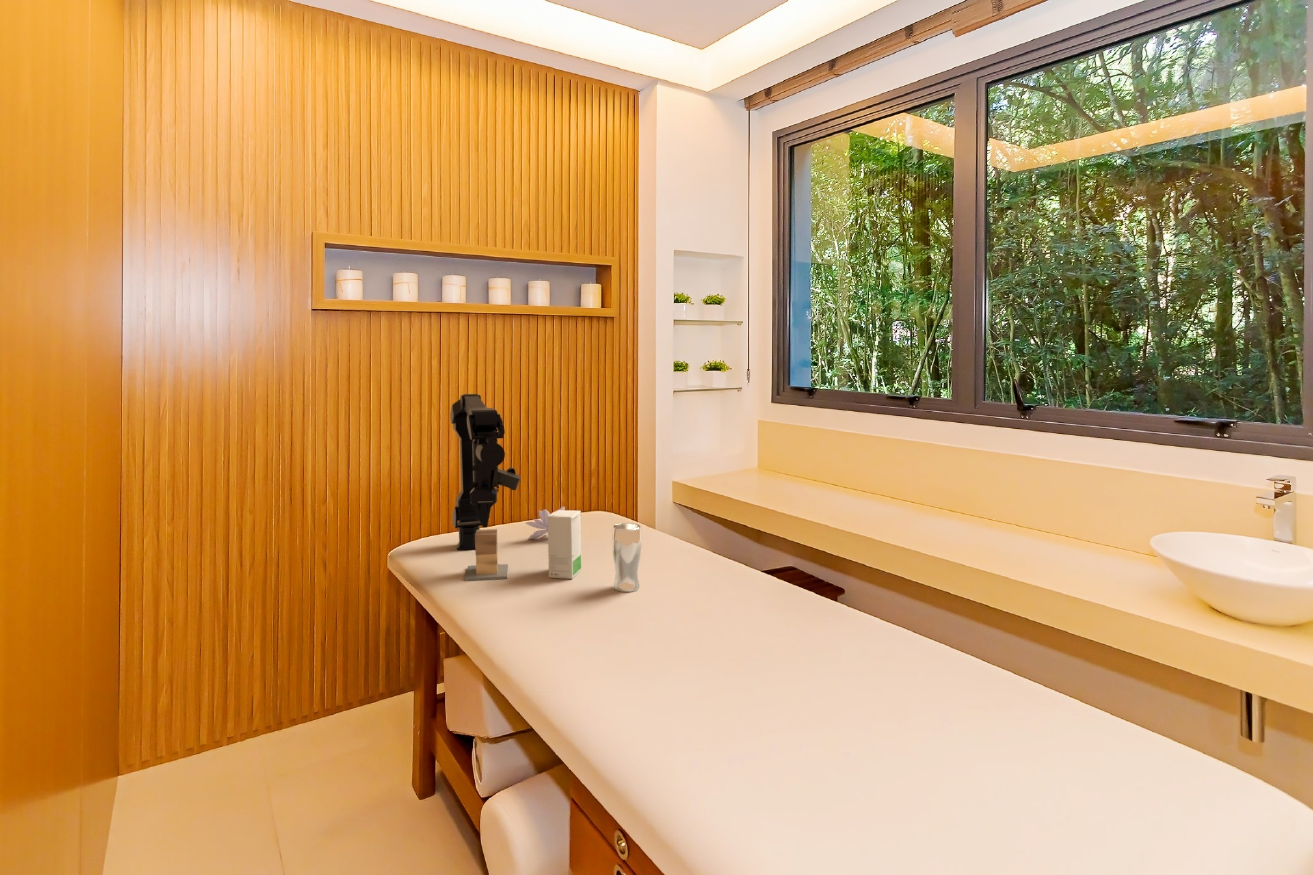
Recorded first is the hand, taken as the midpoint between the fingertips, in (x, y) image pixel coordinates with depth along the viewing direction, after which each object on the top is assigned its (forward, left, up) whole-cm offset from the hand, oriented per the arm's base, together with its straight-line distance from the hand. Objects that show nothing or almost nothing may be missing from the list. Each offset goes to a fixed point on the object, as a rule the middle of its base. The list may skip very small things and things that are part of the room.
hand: (486, 522), depth 180 cm
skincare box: (+3, +19, -13) cm, 23 cm away
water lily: (-30, +17, -13) cm, 37 cm away
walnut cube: (0, 0, -7) cm, 7 cm away
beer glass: (+16, +33, -13) cm, 39 cm away
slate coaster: (0, 0, -13) cm, 13 cm away
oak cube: (0, 0, -12) cm, 12 cm away
